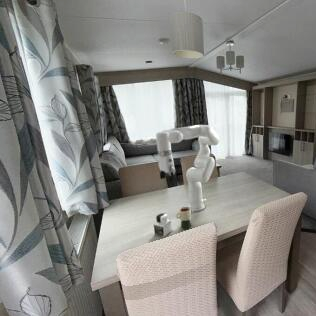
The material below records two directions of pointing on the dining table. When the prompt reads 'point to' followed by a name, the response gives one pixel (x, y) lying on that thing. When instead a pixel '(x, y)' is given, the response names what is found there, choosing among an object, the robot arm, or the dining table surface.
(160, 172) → the robot arm
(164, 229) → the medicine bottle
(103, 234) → the dining table surface
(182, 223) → the character mug
